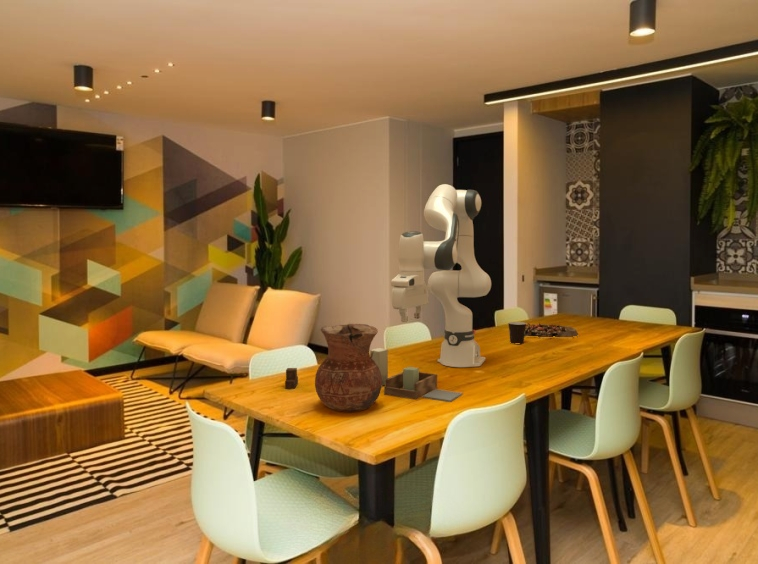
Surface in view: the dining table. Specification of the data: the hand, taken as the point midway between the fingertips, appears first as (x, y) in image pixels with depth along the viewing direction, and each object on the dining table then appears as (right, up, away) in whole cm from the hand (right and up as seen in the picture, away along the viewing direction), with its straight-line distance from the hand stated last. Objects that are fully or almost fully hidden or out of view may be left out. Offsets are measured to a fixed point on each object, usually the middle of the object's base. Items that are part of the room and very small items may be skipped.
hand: (411, 320), depth 200 cm
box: (-11, -24, +11) cm, 29 cm away
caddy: (0, -25, +2) cm, 25 cm away
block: (0, -25, +2) cm, 25 cm away
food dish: (+79, -16, +118) cm, 143 cm away
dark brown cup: (+57, -18, +90) cm, 108 cm away
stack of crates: (-41, -25, +9) cm, 49 cm away
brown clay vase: (-20, -26, -15) cm, 36 cm away
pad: (+10, -25, -4) cm, 27 cm away
